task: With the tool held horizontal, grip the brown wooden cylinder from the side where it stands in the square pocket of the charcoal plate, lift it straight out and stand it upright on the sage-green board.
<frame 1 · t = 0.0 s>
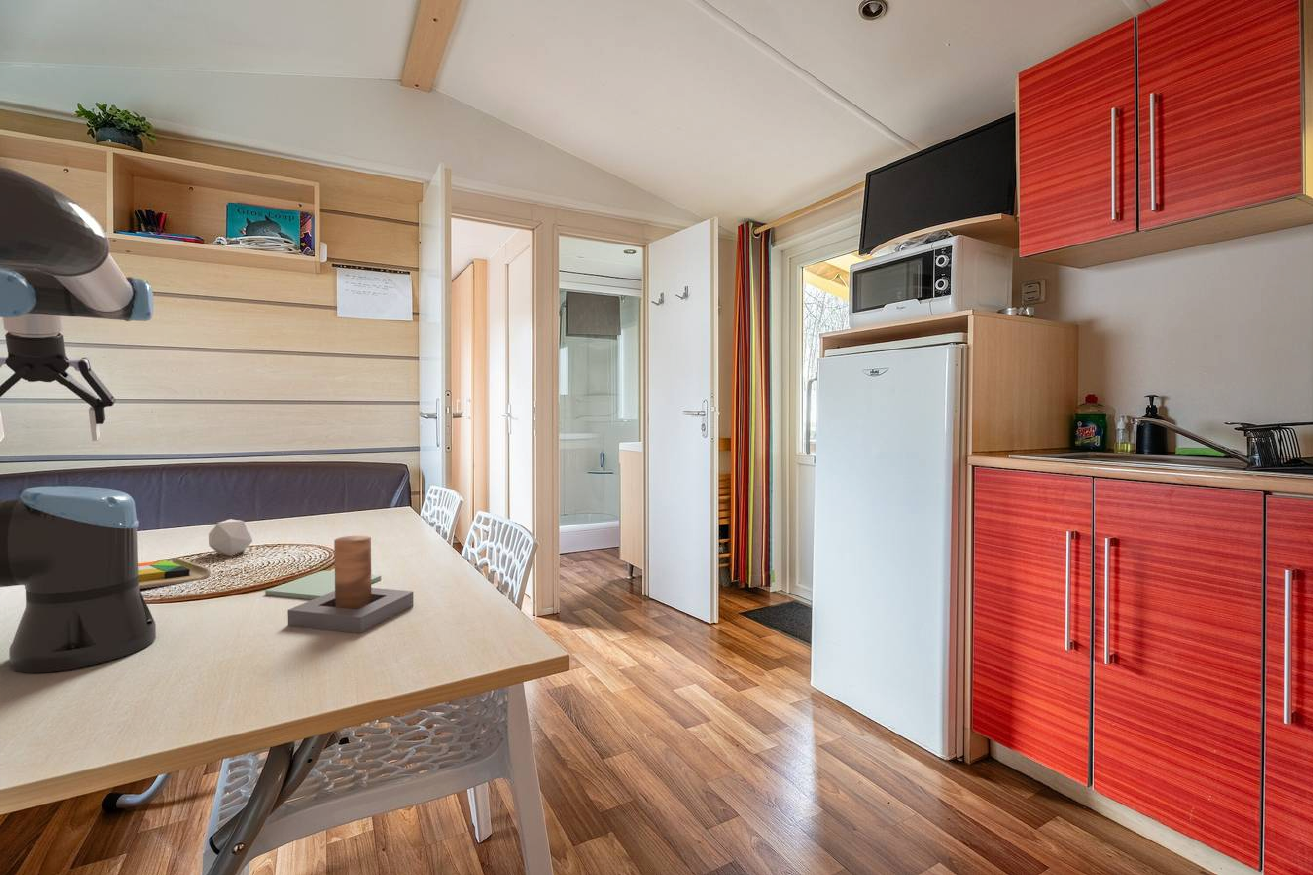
hand: (49, 439, 118), 28 cm above the table, tool tilted 20°, fingers open, 13 cm apart
wooden puzzle: (139, 584, 119), on the table
die: (231, 554, 141), on the table
brown wooden cylinder: (353, 577, 102), in the pocket plate
pocket plate: (353, 614, 102), on the table
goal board: (326, 586, 117), on the table
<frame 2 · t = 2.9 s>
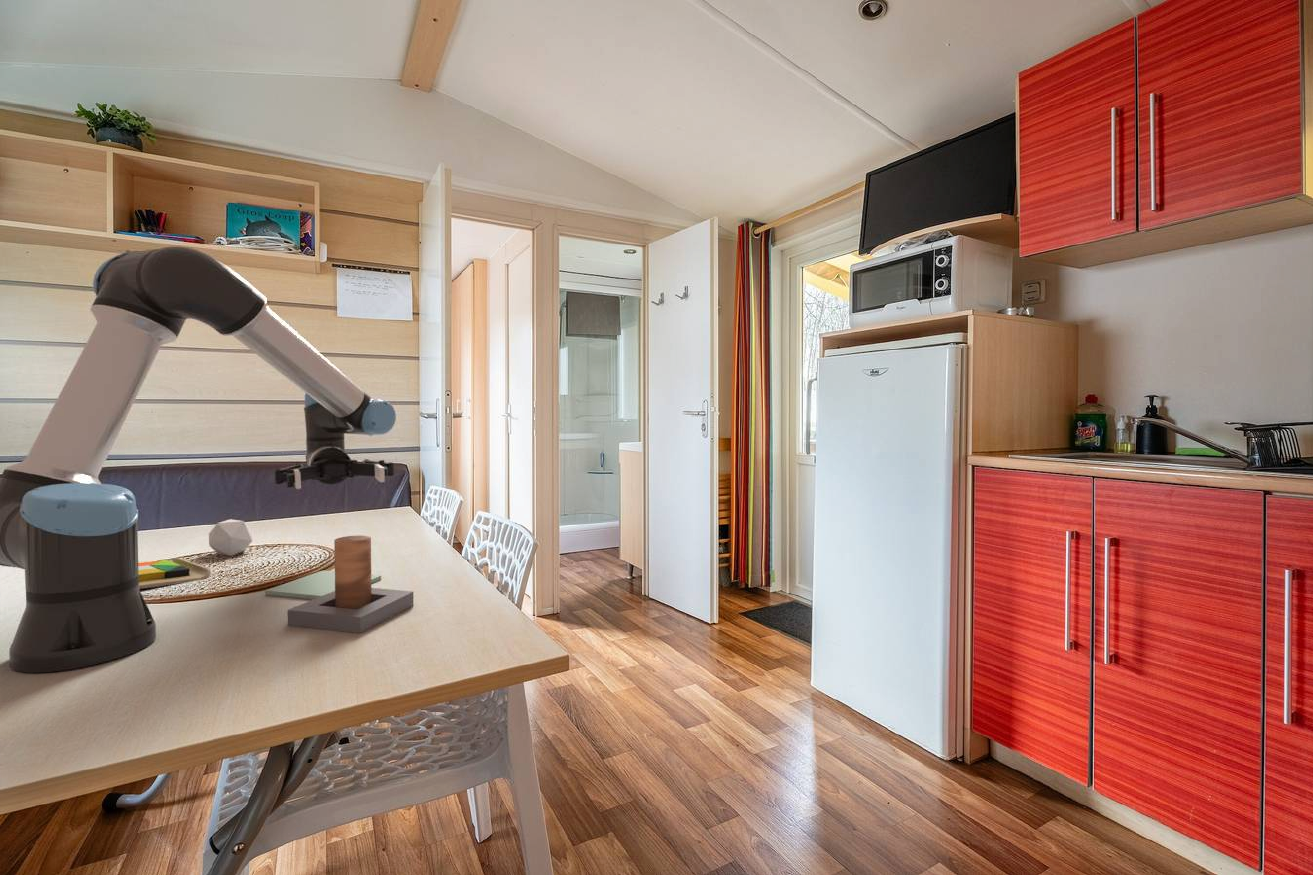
hand: (341, 478, 109), 22 cm above the table, tool horizontal, fingers open, 13 cm apart
nothing on the table moved.
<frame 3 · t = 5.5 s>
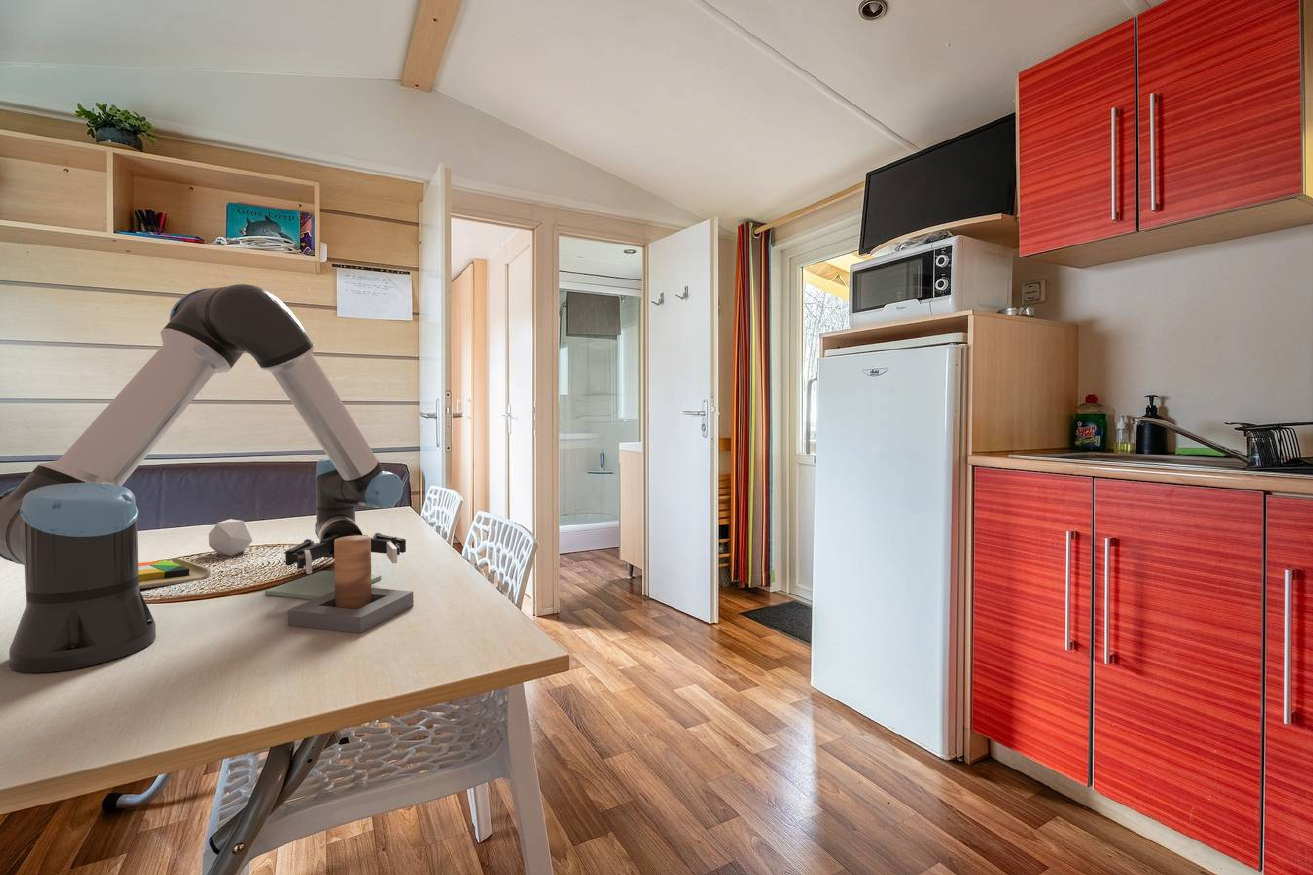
hand: (353, 560, 107), 8 cm above the table, tool horizontal, fingers open, 13 cm apart
nothing on the table moved.
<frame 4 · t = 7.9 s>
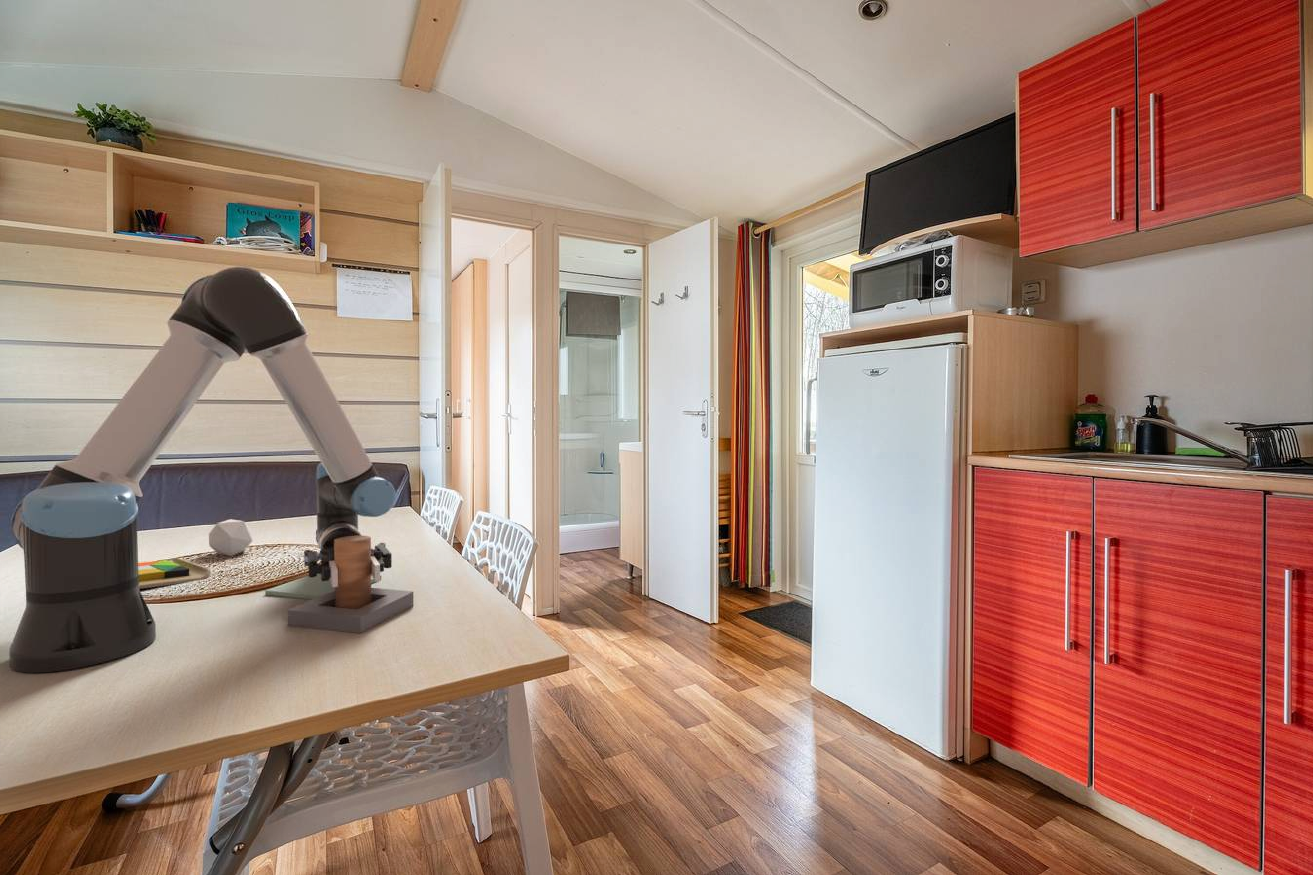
hand: (356, 575, 97), 8 cm above the table, tool horizontal, fingers closed on brown wooden cylinder, 5 cm apart
brown wooden cylinder: (353, 577, 102), in the pocket plate, touching gripper
everything else where it was.
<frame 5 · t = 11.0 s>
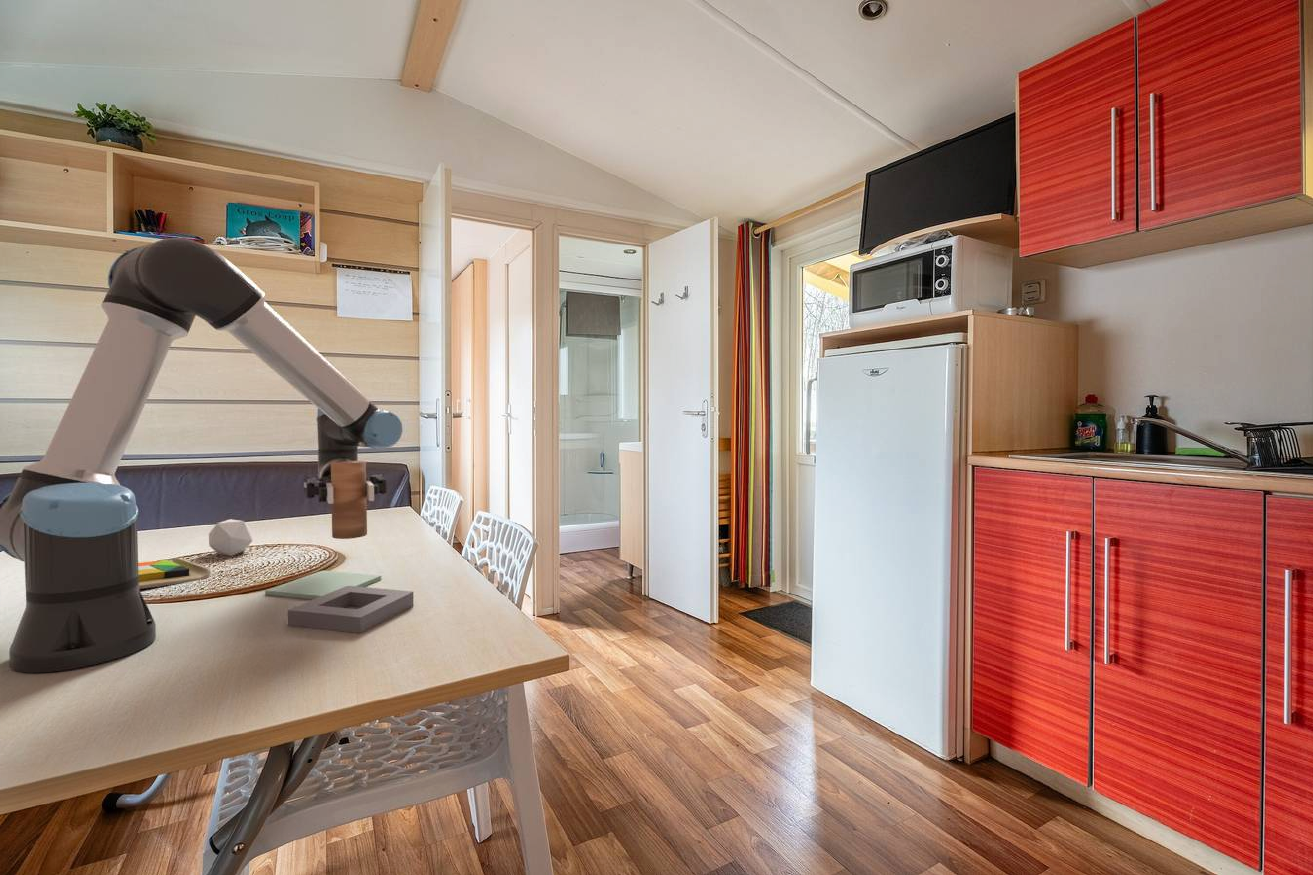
hand: (351, 494, 102), 20 cm above the table, tool horizontal, fingers closed on brown wooden cylinder, 5 cm apart
brown wooden cylinder: (349, 498, 106), point 19 cm above the table, touching gripper
everything else where it was.
when the fingers open (10 cm above the table, at t = 14.2 s): brown wooden cylinder drops 1 cm, resting on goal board.
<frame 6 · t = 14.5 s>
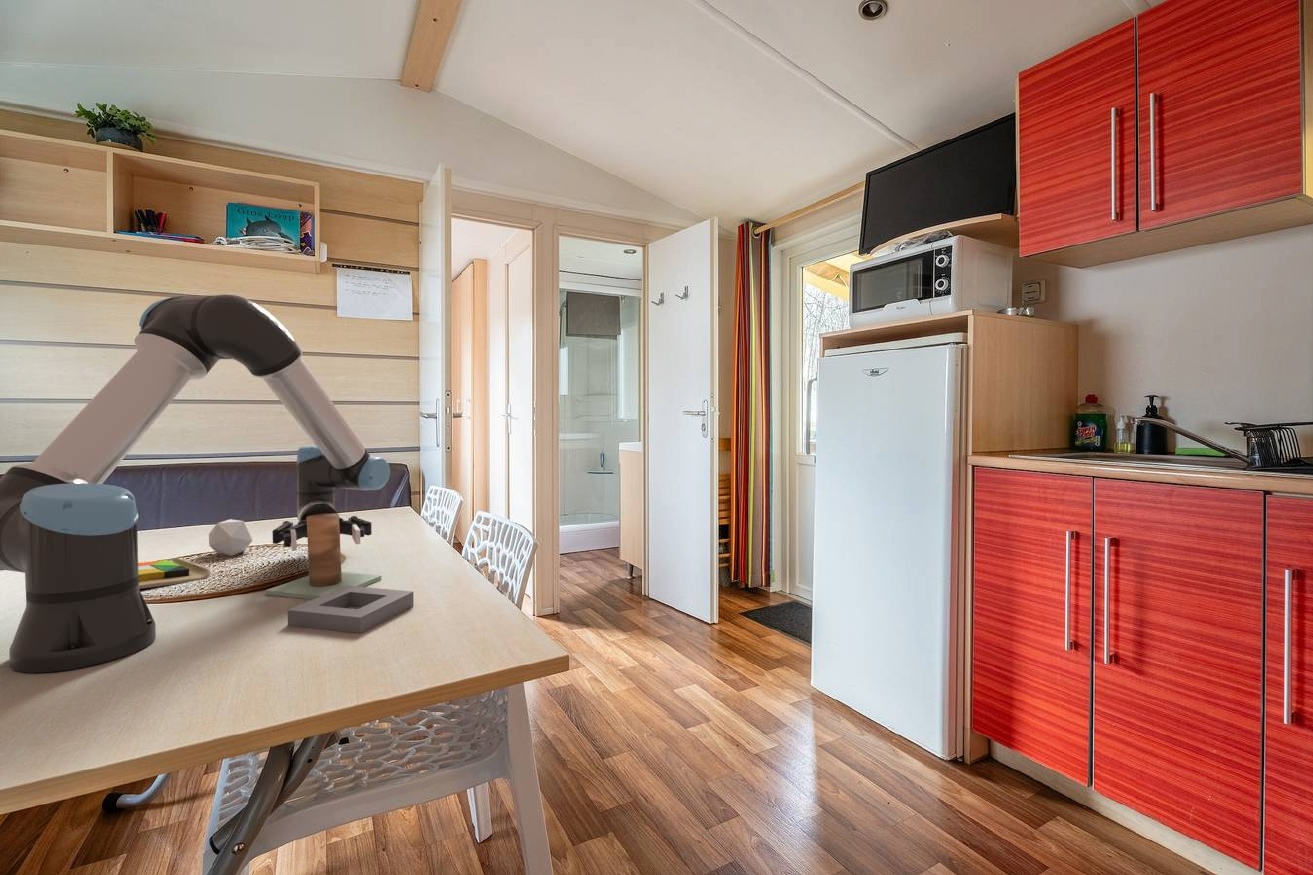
hand: (326, 540, 113), 10 cm above the table, tool horizontal, fingers open, 10 cm apart
brown wooden cylinder: (324, 549, 117), on the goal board, point 7 cm above the table
everything else where it was.
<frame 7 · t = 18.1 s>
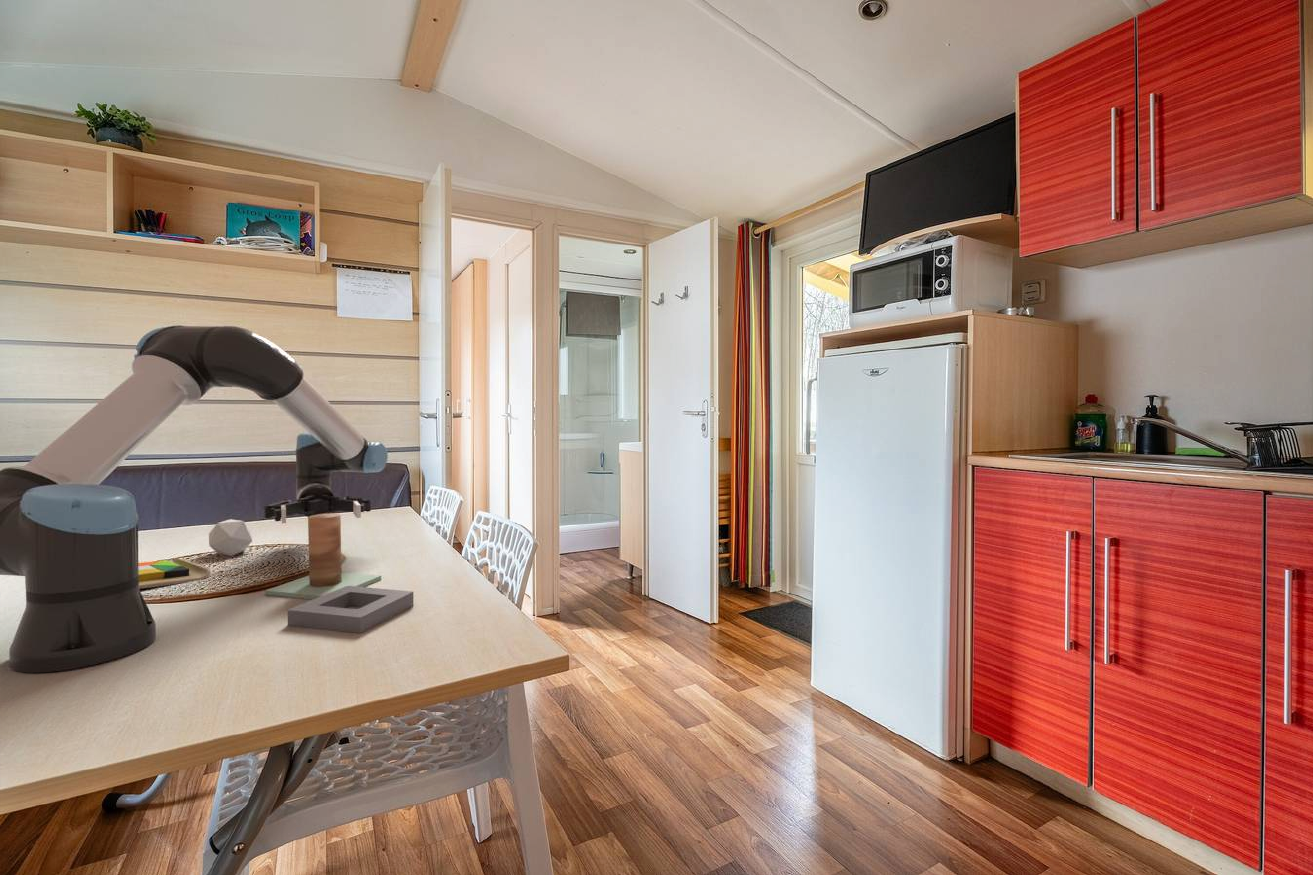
hand: (322, 513, 125), 13 cm above the table, tool horizontal, fingers open, 13 cm apart
nothing on the table moved.
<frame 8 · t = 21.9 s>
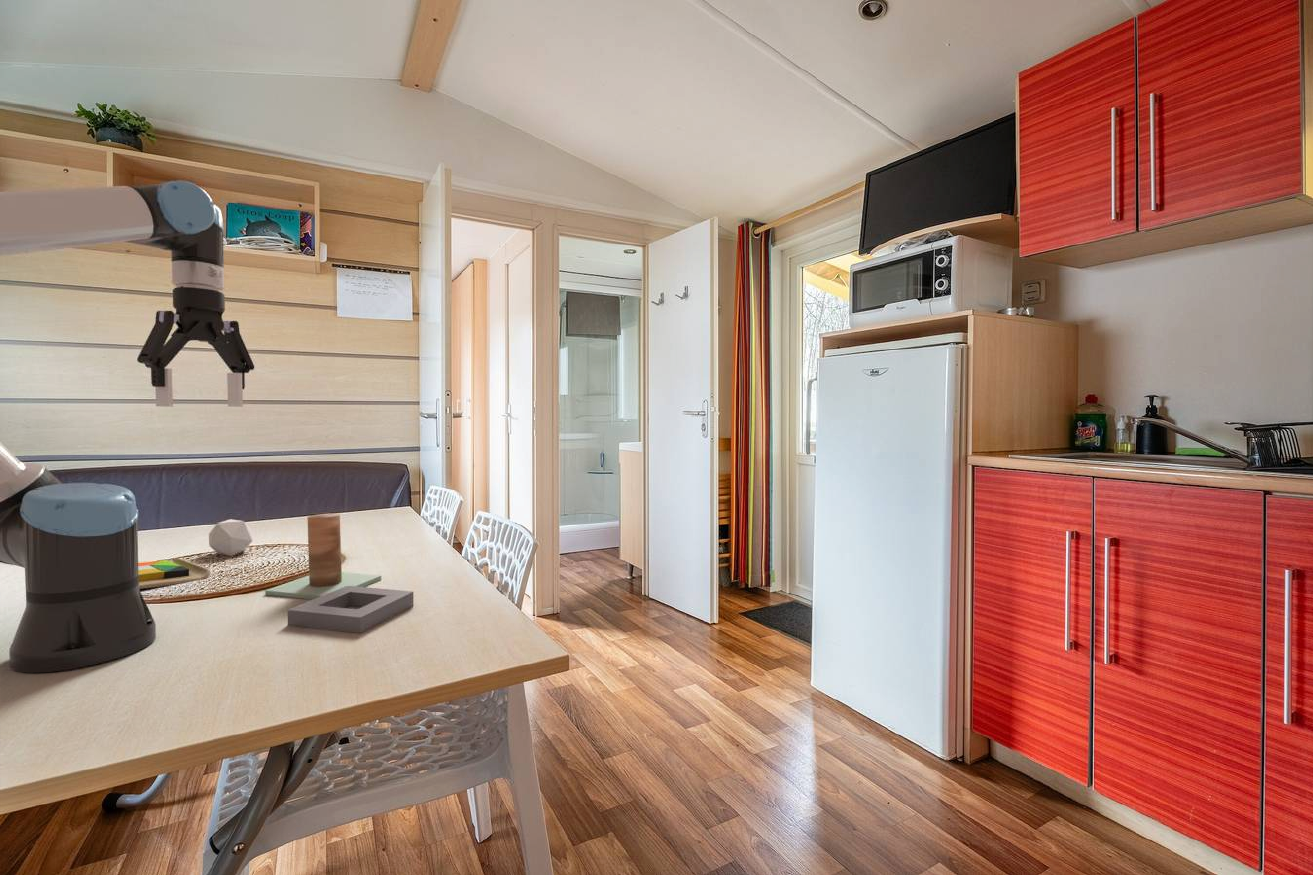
hand: (202, 406, 110), 35 cm above the table, tool pointing down, fingers open, 13 cm apart
nothing on the table moved.
at the end: brown wooden cylinder inside the target area on the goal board (0.0 cm from its centre), point 7.3 cm above the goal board's base; brown wooden cylinder tilted 1°; the gripper is holding nothing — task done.
